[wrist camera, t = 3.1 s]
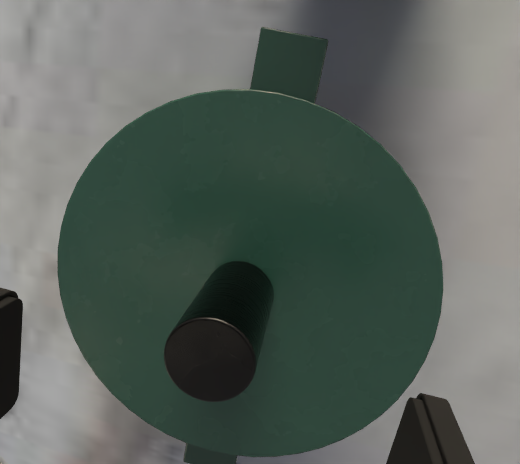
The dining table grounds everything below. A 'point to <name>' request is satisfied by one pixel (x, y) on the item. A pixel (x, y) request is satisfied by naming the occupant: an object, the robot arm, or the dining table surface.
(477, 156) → the dining table surface
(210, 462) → the pot
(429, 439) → the robot arm
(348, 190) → the pot lid
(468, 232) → the dining table surface
